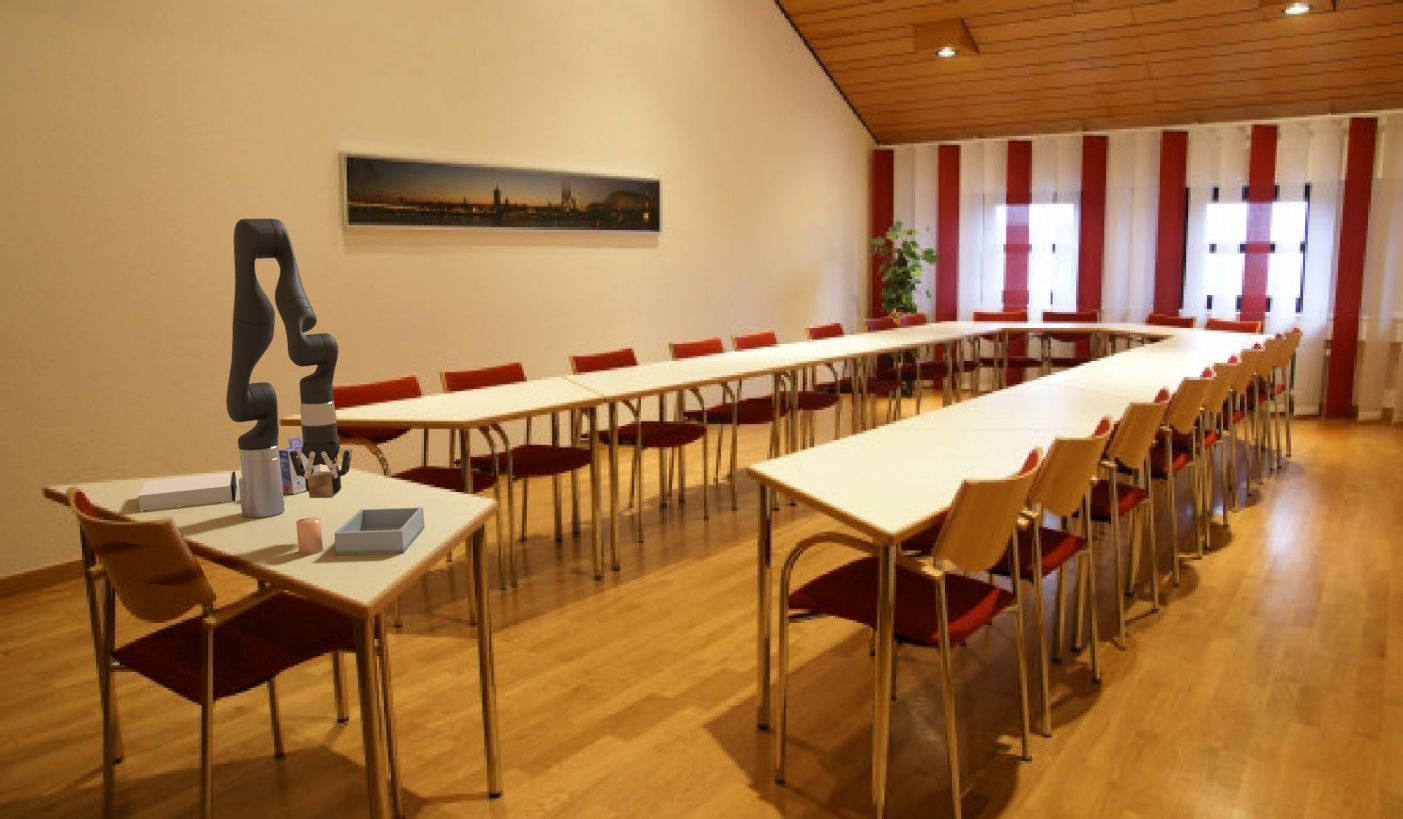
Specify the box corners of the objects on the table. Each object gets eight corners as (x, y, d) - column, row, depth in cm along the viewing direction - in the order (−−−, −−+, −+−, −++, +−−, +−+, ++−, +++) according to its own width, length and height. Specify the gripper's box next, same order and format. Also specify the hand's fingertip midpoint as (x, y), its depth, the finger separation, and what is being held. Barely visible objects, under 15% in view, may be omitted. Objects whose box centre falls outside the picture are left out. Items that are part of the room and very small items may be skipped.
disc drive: (235, 502, 268) (233, 484, 268) (140, 513, 260) (137, 494, 259) (237, 488, 284) (235, 471, 284) (147, 498, 276) (145, 480, 275)
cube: (309, 498, 230) (307, 477, 230) (316, 492, 235) (315, 471, 234) (331, 497, 231) (330, 476, 230) (338, 492, 236) (336, 471, 235)
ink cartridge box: (311, 485, 284) (306, 434, 282) (323, 487, 282) (319, 436, 279) (280, 492, 276) (275, 441, 274) (293, 495, 273) (288, 442, 271)
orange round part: (295, 555, 220) (292, 524, 219) (303, 548, 225) (300, 517, 224) (318, 554, 220) (316, 523, 219) (326, 547, 225) (323, 517, 224)
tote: (336, 555, 219) (334, 533, 218) (362, 529, 238) (360, 509, 238) (403, 553, 220) (402, 530, 219) (424, 527, 239) (423, 507, 238)
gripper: (280, 424, 226) (286, 497, 229) (345, 424, 226) (350, 497, 230) (292, 418, 233) (298, 489, 236) (355, 417, 234) (360, 488, 237)
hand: (324, 492), depth 233 cm, fingers closed on cube, 5 cm apart
